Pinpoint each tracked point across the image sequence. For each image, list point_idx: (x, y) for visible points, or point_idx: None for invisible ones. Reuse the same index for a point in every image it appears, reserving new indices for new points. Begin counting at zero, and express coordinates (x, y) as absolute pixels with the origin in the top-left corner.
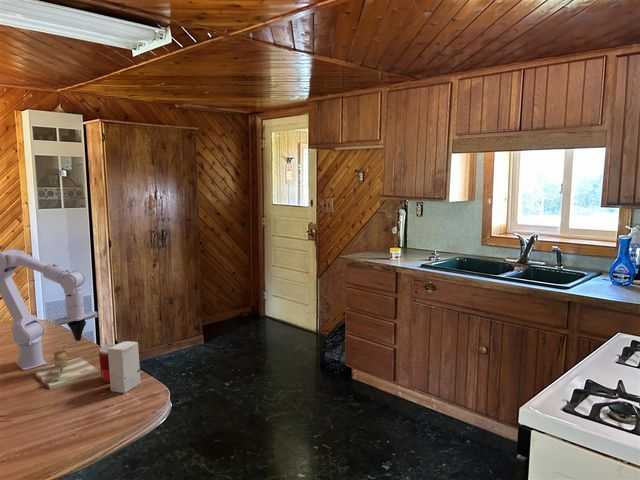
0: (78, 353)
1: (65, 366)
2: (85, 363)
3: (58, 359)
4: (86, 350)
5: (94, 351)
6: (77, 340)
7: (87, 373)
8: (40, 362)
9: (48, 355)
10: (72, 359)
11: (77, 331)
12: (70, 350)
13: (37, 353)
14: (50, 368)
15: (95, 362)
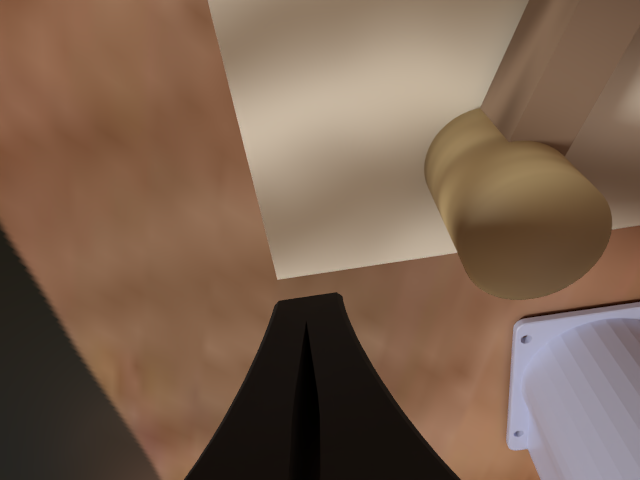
0: None
1: None
2: (260, 93)
3: (558, 155)
4: (210, 412)
5: (154, 370)
6: (332, 298)
7: None
8: (566, 342)
9: (449, 448)
10: (349, 268)
11: (338, 435)
12: None
13: (629, 403)
14: None
15: (160, 133)
